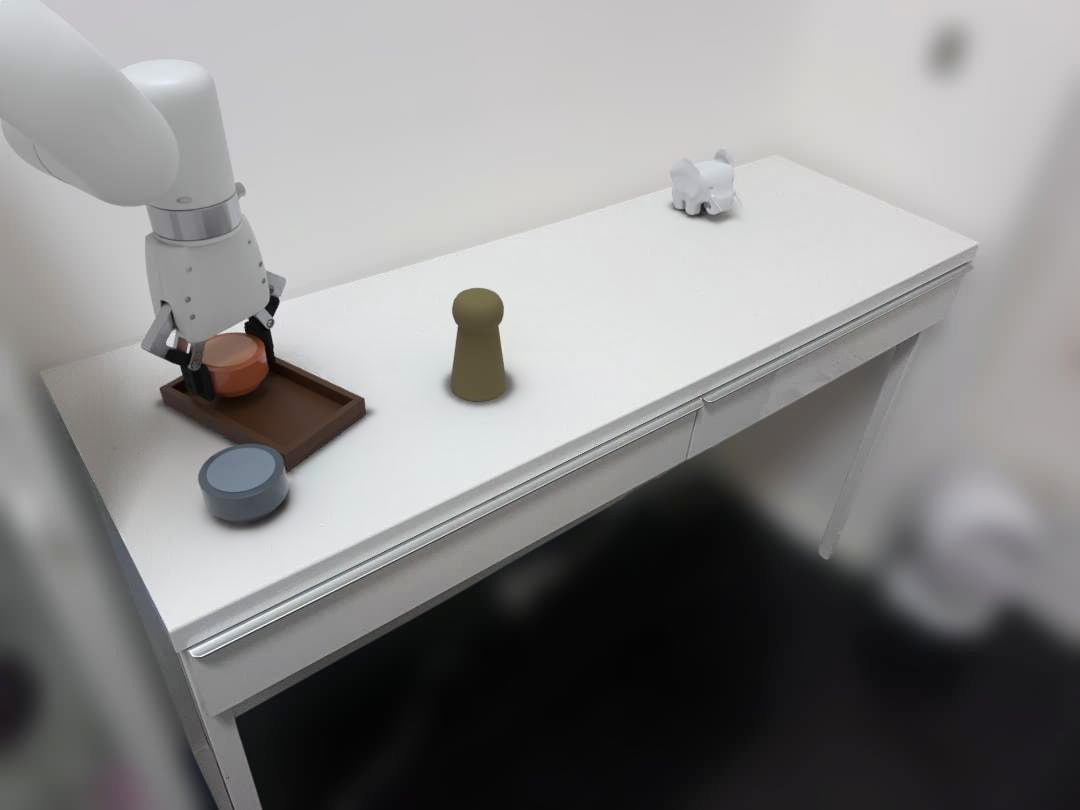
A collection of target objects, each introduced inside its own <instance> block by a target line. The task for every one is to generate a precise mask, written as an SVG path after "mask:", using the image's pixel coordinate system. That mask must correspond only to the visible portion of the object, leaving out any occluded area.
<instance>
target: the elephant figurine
mask: <svg viewBox="0 0 1080 810" xmlns="http://www.w3.org/2000/svg"><path fill="white" fill-rule="evenodd" d="M668 172H669V174H670V178H671V182H672V186H671V188H672V189H671V197H672V198H671V199H672V203H673V204H672V205H673V206H674V208H675V209H676V210H685V213H686V214H687V215H689V216H694V215H699V214H700V212H701V207H702V204H703V208H704V209H705V210H706V213H708V214H709V215H711V216H714V215H717V214H719V213H723V212H728V211H730V210H731V208H732V206H733V203H734V200H735V199H734V197H735V198H736V199H737V200H738V202H739V205H740V206H741V207H743V204H742V203H743V202H742V200H741V197H740V194H739V192H738V191H737V189H735V188H734V185H733V184H734V180H735V170H734V156H733V153H732V150H730V149H729V148H728V147H726V146H724V147H721V148H719V149H718V150H717V151H716V153H715V154H714V158H713V159H710V160H703V161H699V162H696V163H693V162H692V161H690V159H688V158H687V157H682V158H680V159H678V160H677V161H676V162H675V163H674V164H673V166H672V167H671V168H670V170H669V171H668Z"/></svg>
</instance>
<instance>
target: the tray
mask: <svg viewBox="0 0 1080 810" xmlns="http://www.w3.org/2000/svg"><path fill="white" fill-rule="evenodd" d="M275 360H276V362H274V363H273V364H268V365H269V370H268V373H267V375H266V377H265V378H264V379H263V380H262V381H261V383H260V384H259V386H258V387H257V388H256V389H254V390H253V391H251V392H249V393H247V394H244V395H241V396H236V397H222V396H218V395H215V399H213V400H212V401H207V400H205V399H203V398H201V397H200V396H198V395H194V394H192V393H190V392H189V391H188V390H187V388H186V385H185V382H184V378H183V375H182V374H181V375H180V376H178V377H176V378H175V379H173V380H171V381H169V382H167V383H166V384H163V385H162V386H160V387H159V388H158V389H159V393H160V395H161V398H162V402H163V404H164V405H166V406H167V407H169V408H171V409H173V410H175V411H176V412H178V413H179V414H182V415H184V416H185V417H188V418H190V419H191V420H193V421H195V422H197V423H199V424H200V425H202V426H204V427H206V428H208V429H210V430H212V431H213V432H215V433H216V434H219V435H221V436H222V437H224V438H226V439H228V440H230V441H231V442H233V443H234V444H237V445H241V444H261V445H265V446H268V447H271V448H273V449H274V450H276V451H277V452H278V453H279V454H280V455H281V456H282V458H283V461H284V465H285V470H286V472H289V471H290V470H292V469H293V468H294V467H296V466H297V465H298V464H300V463H301V462H303V461H304V460H305V459H307V458H308V457H310V456H311V455H312V454H313V453H315V452H316V451H318V450H319V449H320V448H322V447H323V446H325V445H326V444H327V443H329V442H330V441H331V440H332V439H334V438H336V437H337V436H338V435H339V434H341V433H342V432H344V431H345V430H346V429H347V428H349V427H350V426H352V425H354V423H356V422H357V421H358V420H360V419H362V418H363V417H364V416H366V415H367V410H366V409H367V408H366V400H365V398H364V397H362V396H360V395H359V394H356V393H354V392H352V391H349V390H348V389H346V388H343V387H341V386H339V385H337V384H335V383H333V382H331V381H330V380H329V381H328V380H326V379H324V378H322V377H320V376H318V375H315V374H314V373H311V372H310V371H307V370H305V369H303V368H300V367H299V366H297V365H294V364H293V363H290V362H288V361H286V360H284V359H282V358H280V357H277V356H275Z"/></svg>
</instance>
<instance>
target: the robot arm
mask: <svg viewBox="0 0 1080 810" xmlns="http://www.w3.org/2000/svg"><path fill="white" fill-rule="evenodd" d="M0 127H1V131H2V134H3V136H4V138H5V140H6V142H7V144H8V146H9V147H10V148H11V149H12V151H13V152H15V154H16V155H17V156H18V157H19V158H20V159H21V160H22V161H24V162H25V163H26V164H28V165H29V166H31V167H33V168H35V169H37V170H38V171H40V172H41V173H44V174H46V175H48V176H50V177H52V178H55V179H56V180H59V181H61V182H63V183H64V184H67V185H70V186H72V187H74V188H75V189H78V190H80V191H82V192H84V193H86V194H88V195H91V196H92V197H93V198H96V199H98V200H100V201H102V202H104V203H107V204H110V205H112V206H113V205H114V206H118V207H123V208H124V207H125V208H131V207H132V208H135V207H141V206H145V207H146V212H147V215H148V219H149V222H150V226H151V231H152V232H150V233H147V234H146V235H145V237H144V239H145V240H144V258H145V259H144V260H145V270H146V276H147V283H148V289H149V293H150V294H149V296H150V298H151V299H150V300H151V304H152V309H153V313H154V316H155V318H154V320H153V322H152V324H151V325H150V328H149V329H148V331H147V333H146V334H145V336H144V338H143V339H142V341H141V343H140V347H141V349H142V350H144V351H145V352H147V353H149V354H151V355H154V356H156V357H158V358H160V359H163V360H165V361H167V362H169V363H171V364H174V365H176V366H179V368H180V371H181V376H182V375H183V378H184V382H185V385H186V388H187V390H188V391H189V392H190V393H192V394H194V395H198V396H200V397H201V398H203V399H205V400H207V401H212V400H213V399H215V392H214V388H213V384H212V380H211V376H210V372H209V369H208V367H207V366H206V365H204V364H202V358H203V353H204V348H205V343H206V340H208V339H210V338H212V337H214V336H215V335H219V334H222V333H223V332H225V331H227V330H229V329H230V328H233V327H234V326H236V325H238V324H240V323H242V322H243V321H245V320H247V321H245V322H244V324H243V325H244V326H243V329H244V333H248V334H252V335H254V336H256V337H258V338H260V339H261V340H262V341H263V343H264V346H265V350H266V355H267V360H268V364H273V363H274V362H276V360H275V357H276V354H275V351H274V348H275V347H274V346H275V345H274V342H273V335H272V330H271V329H272V328H273V327H274V326H275V323H276V320H275V319H274V317H275V314H276V312H277V310H278V308H279V306H280V304H281V303H280V302H281V301H280V300H281V299H280V297H281V296H282V295H283V292H284V289H285V287H286V285H287V284H286V283H287V279H286V277H284V276H282V275H279V274H276V273H274V272H271V271H269V270H267V269H266V267H265V264H264V259H263V256H262V252H261V249H260V246H259V244H258V241H257V238H256V235H255V234H254V231H253V229H252V226H251V224H250V221H249V220H248V217H247V216H246V215H245V214H244V213H242V212H241V206H240V199H241V198H243V197H245V196H246V193H247V191H246V188H245V186H244V184H243V183H241V182H239V181H237V182H236V180H235V176H234V171H233V166H232V161H231V156H230V152H229V146H228V141H227V137H226V131H225V126H224V121H223V117H222V112H221V106H220V100H219V96H218V91H217V86H216V83H215V81H214V77H213V76H212V75H211V73H210V72H209V71H208V70H207V69H206V68H205V67H204V66H202V65H201V64H199V63H198V62H197V63H196V62H193V61H190V60H184V59H176V58H160V59H159V58H158V59H149V60H144V61H143V60H142V61H138V62H136V63H133V64H130V65H128V66H126V67H124V68H122V69H119V68H118V67H117V66H116V65H115V64H114V63H113V62H111V60H110V59H109V58H108V57H107V56H106V55H105V54H104V53H103V52H101V50H100V49H98V48H97V47H96V46H95V45H94V44H93V43H92V42H91V41H90V40H88V38H86V37H85V36H84V35H82V33H81V32H79V31H78V30H77V29H75V27H73V25H71V24H70V23H68V22H67V21H66V20H65V19H64V18H63V17H61V16H60V15H59V14H58V13H56V12H55V11H54V10H52V8H50V7H49V6H48V5H47V4H46V3H44V2H42V1H41V0H0ZM173 331H175V334H174V339H173V344H172V346H170V345H167V341H168V339H169V337H170V335H171V334H172V332H173ZM189 344H190V345H189ZM188 347H189V350H188Z"/></svg>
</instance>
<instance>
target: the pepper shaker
mask: <svg viewBox="0 0 1080 810" xmlns="http://www.w3.org/2000/svg"><path fill="white" fill-rule="evenodd" d="M504 312H505V305H504V302H503V300H502V298H501V296H500V294H498V293H497V292H496V291H493V290H491V289H490V288H485V287H471V288H467V289H464V290H461V292H459V293H457V295H456V296H455V298H454V299H453V302H452V305H451V315H452V318H453V320H454V323H455V324H456V325H457V330H456V339H455V346H454V352H453V361H452V368H451V376H450V384H449V386H450V390H451V392H452V393H453V394H454V395H455V396H456V397H458V398H459V399H460V398H461V399H462V400H464V401H465V400H466V401H470V402H480V403H481V402H487V401H488V402H489V401H492V400H493V399H497V398H498V397H500V396H501V395H503V394H504V392H505V391H506V389H507V377H506V370H505V363H504V355H503V348H502V341H501V333H500V324H502V322H503V319H504V314H505V313H504Z"/></svg>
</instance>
